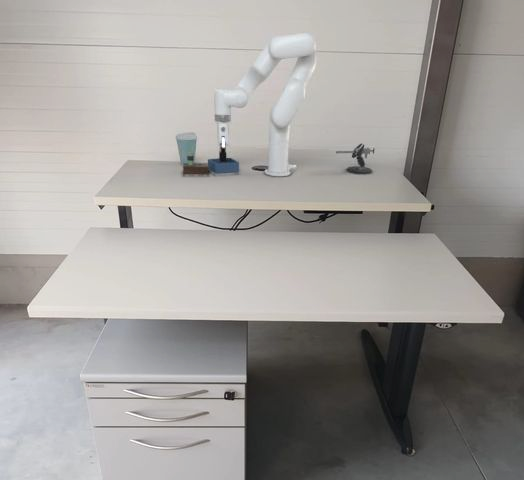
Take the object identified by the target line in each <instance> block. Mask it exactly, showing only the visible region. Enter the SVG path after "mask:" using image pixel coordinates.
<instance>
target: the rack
mask: <svg viewBox="0 0 524 480" xmlns="http://www.w3.org/2000/svg"><path fill="white" fill-rule="evenodd" d="M182 171H183V172H182V174H183V175H209V169H208V162H195V163H194V165H188V163H183V164H182Z"/></svg>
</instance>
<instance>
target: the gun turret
mask: <svg viewBox="0 0 524 480" xmlns="http://www.w3.org/2000/svg"><path fill="white" fill-rule="evenodd" d="M375 149H376V148H375V147H373V149H371V148H370V147H365V144H363V143H359V144H358V145H357V146H356V147H355V148H354V149H353V150H337V151H335V153H336V154H351V158H352V159H355V158H356V161H357V164H358V166H357V165H356V166H348V167H347V168H346V171H347V172H348V173H352V174H356V175H368V174H371V173H372V171H373V169H371V168H370V167H366V163H365V159H368V155H371V152H372V154H375ZM363 155H364V157H363ZM364 158H365V159H364Z"/></svg>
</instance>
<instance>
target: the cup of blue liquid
mask: <svg viewBox="0 0 524 480" xmlns="http://www.w3.org/2000/svg"><path fill="white" fill-rule="evenodd" d="M197 139H198V136H197V134H196V132H193V131H191V132H190V131H189V132H187V131H186V132H181V133H177V134H176V135H175V140H176V144H177V151H178V154H179V160H180V164H181V165H183V163H188V160H187V152H193V156H194V163H196V152H197V141H198V140H197Z"/></svg>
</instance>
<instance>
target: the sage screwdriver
mask: <svg viewBox="0 0 524 480" xmlns="http://www.w3.org/2000/svg"><path fill="white" fill-rule="evenodd" d="M187 160H188V165H194V156H193V152H187Z"/></svg>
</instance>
